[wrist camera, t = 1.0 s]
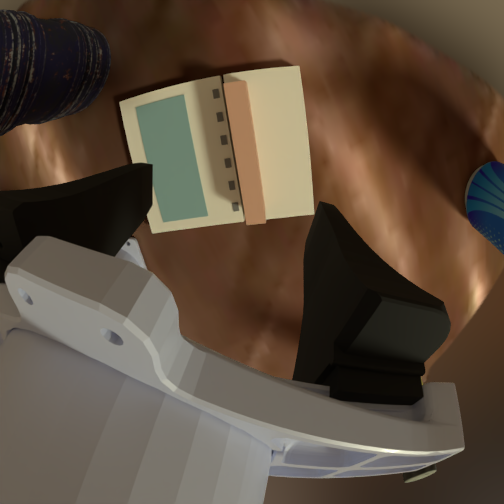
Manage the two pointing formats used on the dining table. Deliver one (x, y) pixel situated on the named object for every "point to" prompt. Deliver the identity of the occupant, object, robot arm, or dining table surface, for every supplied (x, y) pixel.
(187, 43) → the dining table surface
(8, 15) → the storage jar
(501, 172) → the beer can
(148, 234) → the dining table surface
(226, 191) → the cream teal notepad
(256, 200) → the cream and brown block
